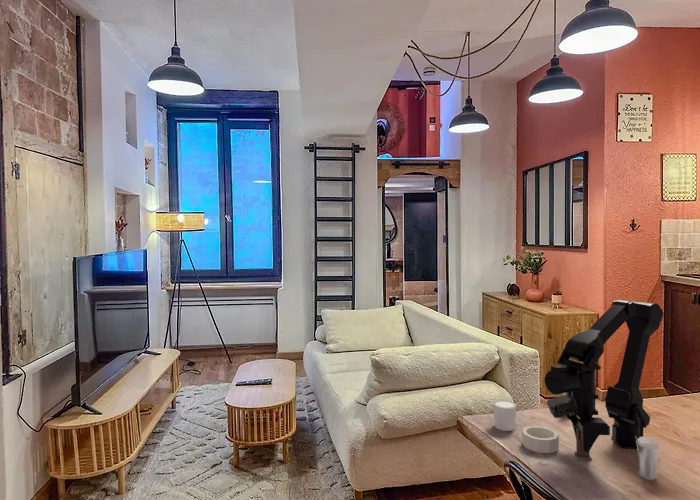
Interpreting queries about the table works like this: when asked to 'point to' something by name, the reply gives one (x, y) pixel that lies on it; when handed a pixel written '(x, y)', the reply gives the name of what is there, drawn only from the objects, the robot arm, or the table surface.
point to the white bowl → (540, 439)
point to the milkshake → (647, 457)
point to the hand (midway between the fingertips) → (582, 447)
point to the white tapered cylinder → (504, 415)
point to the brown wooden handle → (581, 448)
